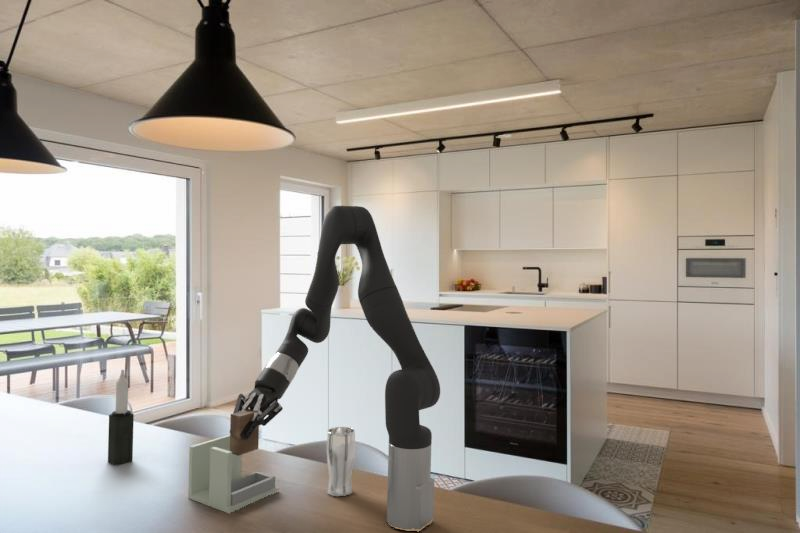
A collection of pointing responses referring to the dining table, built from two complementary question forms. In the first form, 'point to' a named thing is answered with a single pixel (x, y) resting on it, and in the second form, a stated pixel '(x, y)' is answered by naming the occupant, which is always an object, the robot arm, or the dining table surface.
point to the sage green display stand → (224, 477)
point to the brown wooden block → (236, 427)
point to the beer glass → (340, 460)
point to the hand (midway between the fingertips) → (238, 436)
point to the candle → (121, 426)
